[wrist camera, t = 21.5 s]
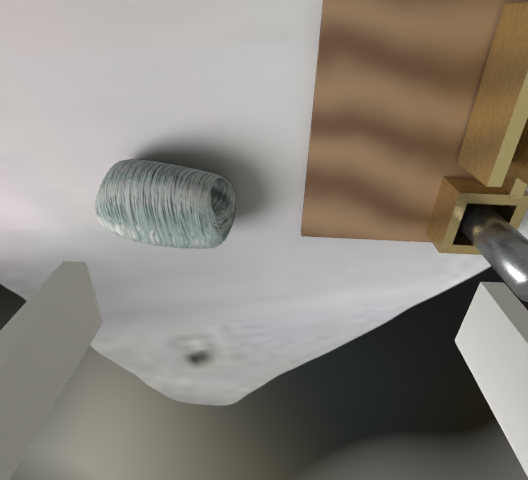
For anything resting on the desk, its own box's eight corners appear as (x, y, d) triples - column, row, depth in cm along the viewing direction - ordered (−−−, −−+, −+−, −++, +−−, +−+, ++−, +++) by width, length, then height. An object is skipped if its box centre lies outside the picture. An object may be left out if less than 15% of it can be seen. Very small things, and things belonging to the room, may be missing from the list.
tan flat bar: (503, 3, 28) (552, 0, 23) (519, 3, 28) (571, 0, 23) (456, 162, 35) (486, 186, 30) (469, 162, 35) (501, 187, 30)
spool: (253, 161, 34) (206, 243, 29) (246, 218, 42) (208, 289, 37) (127, 113, 35) (61, 183, 30) (144, 177, 44) (94, 240, 38)
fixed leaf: (497, 2, 28) (546, -2, 23) (581, 5, 28) (651, 2, 23) (425, 232, 40) (448, 265, 34) (485, 235, 39) (517, 269, 34)
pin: (453, 192, 37) (526, 265, 26) (486, 193, 37) (574, 267, 26) (443, 220, 39) (508, 301, 28) (475, 222, 39) (552, 303, 28)
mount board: (324, -10, 29) (325, -11, 28) (595, -1, 29) (606, -2, 28) (301, 230, 42) (301, 236, 41) (491, 239, 41) (497, 245, 40)
